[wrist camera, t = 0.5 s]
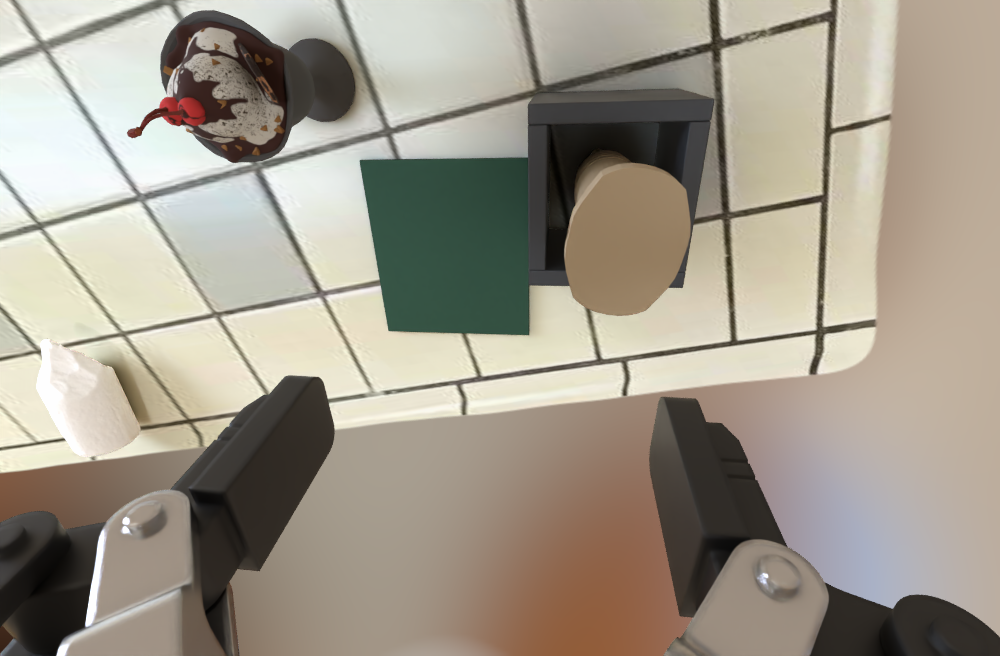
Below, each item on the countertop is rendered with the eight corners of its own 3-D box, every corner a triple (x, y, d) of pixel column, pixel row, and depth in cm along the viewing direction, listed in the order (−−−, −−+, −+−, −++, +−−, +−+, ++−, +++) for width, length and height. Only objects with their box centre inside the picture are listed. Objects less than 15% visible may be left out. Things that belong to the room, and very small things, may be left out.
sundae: (268, 117, 34) (83, 157, 21) (274, 7, 30) (57, -28, 17) (359, 148, 34) (233, 206, 21) (374, 43, 31) (235, 35, 18)
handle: (649, 127, 31) (711, 179, 18) (623, 222, 34) (659, 323, 21) (576, 115, 31) (586, 158, 18) (557, 211, 35) (553, 305, 22)
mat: (360, 159, 34) (359, 160, 34) (528, 157, 33) (527, 158, 33) (389, 329, 41) (388, 331, 41) (528, 333, 40) (528, 335, 40)
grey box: (535, 92, 31) (527, 103, 24) (680, 88, 30) (715, 98, 23) (535, 241, 36) (528, 285, 29) (659, 241, 35) (683, 288, 28)
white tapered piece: (113, 324, 44) (58, 357, 40) (154, 423, 50) (110, 462, 46) (53, 317, 45) (-8, 349, 40) (100, 416, 51) (52, 454, 46)
